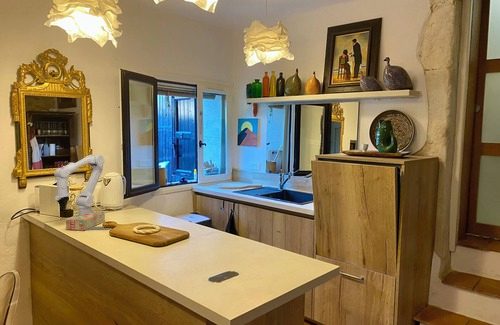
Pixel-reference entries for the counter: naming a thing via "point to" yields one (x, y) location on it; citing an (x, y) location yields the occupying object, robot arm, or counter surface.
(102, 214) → the patterned cardboard box
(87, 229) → the strip
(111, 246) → the counter surface
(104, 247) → the counter surface
